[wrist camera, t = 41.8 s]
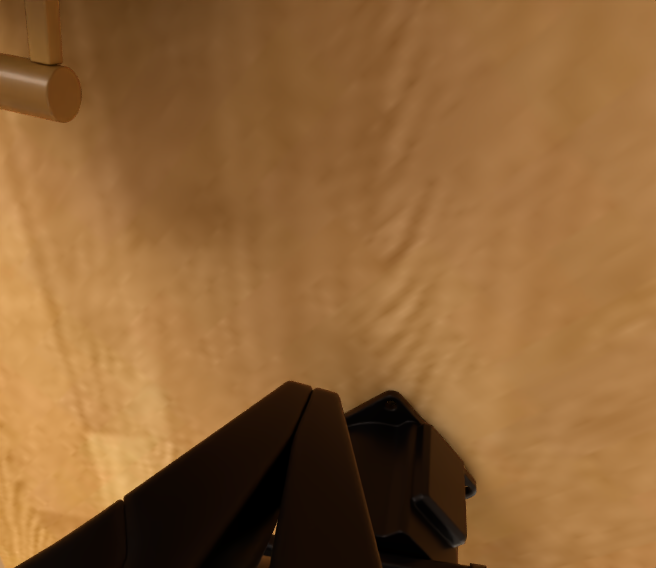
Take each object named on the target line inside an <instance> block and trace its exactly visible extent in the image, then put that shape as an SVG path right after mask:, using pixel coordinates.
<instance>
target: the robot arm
mask: <svg viewBox="0 0 656 568" xmlns="http://www.w3.org/2000/svg"><path fill="white" fill-rule="evenodd" d="M387 401H394V402H395V403H396V404H393V405H392V404H389V403H387ZM465 486H468V487H465ZM475 494H476V481H475V479H474V478H473V477H472V476H471V475H470V474H469V472H468V471H467V470H466V469H465V468H464V462H463V461H462V459H461V458H460V457H459V456H458V455H457V454H456V452H455V451H454V450H453V449H452V448H451V447H450V446H449V444H448V443H447V442H446V441H445V440H444V439H443V437H442V436H441V435H440V434H439V433H438V432H437V431H436V429H435V428H434V427H433V426H432V425H430V424H428V423H425V422H424V421H423V419H422V418H421V417H420V416H419V415H418V414H417V413H416V411H415V410H414V409H413V408H412V407H411V406H410V405H409V403H408V402H407V401H406V400H405V399H404V398H403V396H402V395H401V394H399V393H398V392H396V391H386V392H384V393H382V394H380V395H378V396H376V397H374V398H372V399H371V400H369V401H367V402H365V403H363V404H361V405H359V406H358V407H356V408H354V409H352V410H350V411H348V412H347V413H345V414H344V412H343V408H342V404H341V400H340V397H339V395H338V394H337V393H335V392H332V391H328V390H324V389H321V388H315V389H314V390H312V387H311V386H309V385H306V384H302V383H298V382H295V381H287V382H285V383H284V384H283V385H281V386H280V387H278V388H277V389H276V390H274V391H273V392H271V393H270V394H268V395H267V396H266V397H264V398H263V399H261V400H260V401H259V402H257V403H256V404H254V405H253V406H251V407H250V408H249V409H247V410H246V411H244V412H243V413H242V414H240V415H239V416H237V417H236V418H234V419H233V420H232V421H230V422H229V423H227V424H226V425H224V426H223V427H222V428H220V429H219V430H217V431H216V432H215V433H213V434H212V435H210V436H209V437H207V438H206V439H205V440H203V441H202V442H200V443H199V444H198V445H196V446H195V447H193V448H192V449H190V450H189V451H188V452H186V453H185V454H183V455H182V456H181V457H179V458H178V459H176V460H175V461H173V462H172V463H171V464H169V465H168V466H166V467H165V468H163V469H162V470H161V471H159V472H158V473H156V474H155V475H154V476H152V477H151V478H149V479H148V480H146V481H145V482H144V483H142V484H141V485H139V486H138V487H137V488H135V489H134V490H132V491H131V492H129V493H128V494H127V495H125V496H124V502H123V500H118V501H116V502H115V503H113V504H112V505H111V506H109V507H108V508H106V509H105V510H103V511H102V512H101V513H99V514H98V515H96V516H95V517H93V518H92V519H90V520H89V521H87V522H86V523H84V524H83V525H81V526H80V527H78V528H77V529H75V530H74V531H72V532H71V533H69V534H68V535H66V536H65V537H64V538H62V539H61V540H59V541H58V542H56V543H54V544H53V545H51V546H49V547H48V548H46V549H44V550H43V551H41V552H39V553H38V554H36V555H34V556H33V557H31V558H29V559H28V560H26V561H25V562H23V563H21V564H20V565H18V566H16V567H15V568H486V566H485V565H478V564H472V563H470V566H466V565H460V564H458V546H459V545H462V544H465V541H466V538H467V525H466V501H465V499H468V498H470V497H472V496H474V495H475ZM277 520H278V521H277ZM276 523H277V527H276V532H275V535H273V534H272V533H273V531H274V528H275V526H276Z"/></svg>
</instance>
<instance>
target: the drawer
mask: <svg viewBox="0 0 656 568" xmlns="http://www.w3.org/2000/svg"><path fill="white" fill-rule="evenodd" d="M24 1H25V12H26V22H27V33H28V43H29V54H30V59H28V58H23V57H18V56H14V55H9V54H4V53H0V109H3V110H7V111H12V112H16V113H21V114H25V115H30V116H34V117H39V118H43V119H48V120H52V121H57V122H61V123H65V122H69V121H71V120H72V119H73V118H74V117H75V116H76V115H77V113H78V111H79V108H80V105H81V98H82V92H81V85H80V82H79V79H78V77H77V75H76V74H75V72H74V71H73V70H71V69H70V68H68V67H66V66H61V65H57V64H62V63H63V56H62V41H61V26H60V12H59V0H24Z"/></svg>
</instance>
